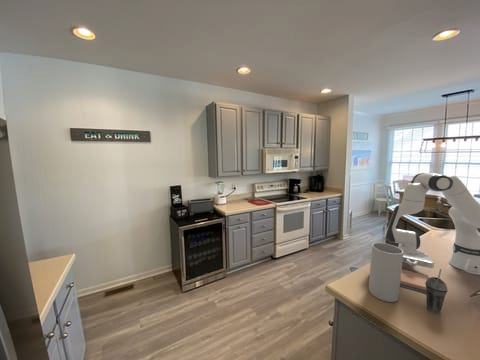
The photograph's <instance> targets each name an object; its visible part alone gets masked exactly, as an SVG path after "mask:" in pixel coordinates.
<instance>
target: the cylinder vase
mask: <svg viewBox="0 0 480 360" xmlns="http://www.w3.org/2000/svg"><path fill="white" fill-rule="evenodd" d="M370 256H371V257H370V268H369V281H368V291H369V293H370V294H371V295H372V296H373V297H375V298H376V299H379V300H381V301H384V302H387V303H396V302H397V301H398V300H399V297H400V279H401V269H402V268H403V262H402V260H403V250H402V249H400V248H398V246H395V245H394V244H393V245H392V244H391V243H390V244H389V243H384V242H373V243H372V244H371V255H370Z"/></svg>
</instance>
